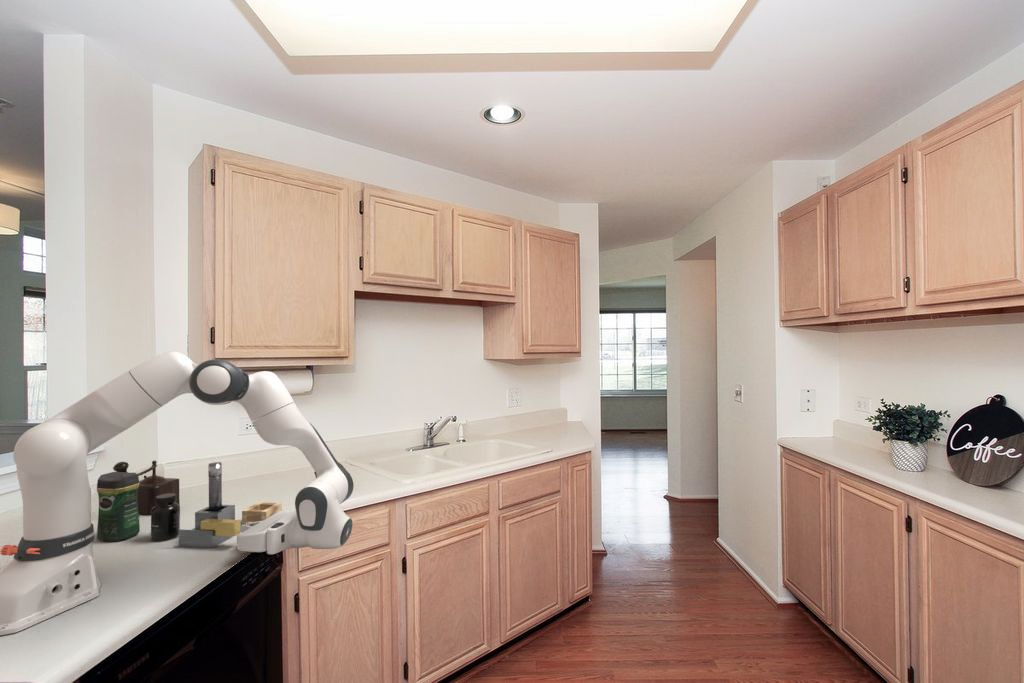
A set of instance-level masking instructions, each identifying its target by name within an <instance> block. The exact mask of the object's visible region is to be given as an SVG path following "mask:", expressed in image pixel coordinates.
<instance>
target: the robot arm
mask: <svg viewBox="0 0 1024 683" xmlns="http://www.w3.org/2000/svg"><path fill="white" fill-rule="evenodd" d="M185 394H192V395H193V396H194V397H196V398H197V399H198V400H199V401H201V402H202V403H204V404H207V405H210V406H221V405H226V404H230V403H232V402H234V403H237V404H239V405H241V407H243V409H244V410H245V412H246V413H247V415H248V418H249V420H250V421H251V423H252V426H253V427H254V429H255V431H256V433H257V434H258V436H259V437H260V438H261V440H262V441H264V442H266V443H267V444H271V445H274V446H291V447H294V448H296V449H298V450H300V452H301V453H302V454H303V455H304V456H305V458H306V460H307V461H308V463H309V465H311V468H313V470H314V472H316V475H317V478H316V477H315V479H314V480H312V481H310V482H309V483H307V485H306V486H304V487H303V488H302V489H300V490H299V492H298V493H297V495H296V496H295V500H294V508H295V510H293V509H292V510H291V509H282V510H281V511H279V512H277V513H276V514H274V515H272V516H270V517H269V518H267V519H265V520H263V521H258V522H249V523H247V524H242V526H241V532H240V534H238V535H236V549H238V550H239V551H243V552H251V553H263V552H266V554H267V555H274V554H275V555H276V554H278V553H281V552H283V551H286V550H290V549H291V550H292V549H293V548H295V549H302V548H306V547H307V548H311V549H314V550H333V549H337V548H338V549H339V548H341V547H342V546H344V545H345V544H346V542H347V541H348V539H350V536H351V534H352V530H353V520H352V519H353V518H352V517H350V516H348V514H346V513H345V512H344V510H343V509H342V507H341V504H342V503H344V502H346V501H347V500H348V499H349V498H350V497H351V496H352V494H353V491H354V481H353V477H352V476H351V474H350V472H349V471H348V470H347V469H346V468H345V467H344V466H343V465H342V464H341V463H340V462H339V461H338V460H337V459H336V457H335V455H333V453H332V451H331V450H330V449H329V446H328V445H327V444H326V442H325V441H324V439H323V437H322V436H321V435H320V433H319V431H318V430H317V428H316V427H315V426H314V425H313V424H312V423H311V422H309V421H308V420H307V419H306V418H305V417H304V415H303V414H302V412H301V411H300V410H299V408H298V406H297V405H296V403H295V401H294V399H293V397H292V394H290V392H289V390H288V389H287V387H286V386H285V385H284V383H283V382H282V380H281V379H280V377H278V375H277V374H276V373H275V372H272V371H269V370H268V371H267V370H263V371H258V372H255V373H251V374H248V373H247V372H245V370H242V369H241V368H239V367H238V366H237V365H235V364H233V363H232V362H230V361H228V360H224V359H219V358H218V359H217V358H213V359H208V360H205V361H203V362H201V363H199V364H198V363H197V364H196V363H195V362H194V361H193V360H191V358H190V357H188V356H187V355H185V354H184V353H182V352H179V351H175V350H173V351H172V350H170V351H166V352H163V353H161V354H159V355H156V356H153V357H151V358H149V359H148V360H147V359H146V361H143V362H142V363H140V364H138V365H136V366H134V367H132V368H130V369H129V370H127V371H125V372H124V373H121V374H120V375H118V376H117V377H115V378H113V379H112V380H110V381H109V382H106V383H105V384H104V385H102V386H100V387H99V388H96V389H95V390H94V391H92V392H90V393H89V394H87V395H86V396H84V397H83V398H81V399H79V400H78V401H76V402H75V403H73V404H71V405H70V406H68V407H66V408H65V409H63V410H61V411H60V412H58V413H57V414H55V415H54V416H52V417H50V418H48V419H46V420H45V421H43V422H40V423H39V424H37V425H35V426H32V427H31V428H29V429H28V430H26V431H25V432H24V433H22V434H21V436H19V438H18V440H17V441H16V444H15V446H14V449H13V455H12V456H13V457H12V458H13V461H14V463H15V465H16V474H17V478H18V479H17V480H18V485H19V489H20V493H21V498H22V510H23V511H22V527H23V528H22V530H23V531H22V532H23V534H22V535H23V536H21V538H20V540H19V542H18V545H14V544H13V545H11V544H5V545H3V546H2V547H1V548H0V555H1V556H9V557H10V556H13V559H12V560H11V561H10V562H9V563H8V564H7V565H6V566H5V567H4V568H3V569H2V570H1V571H0V636H4V635H10V634H15V633H18V632H20V631H23V630H25V629H27V628H30V627H32V626H34V625H36V624H39V623H41V622H43V621H45V620H47V619H50V618H52V617H55V616H57V615H60V614H61V613H64V612H66V611H68V610H70V609H72V608H75V607H77V606H79V605H82V604H84V603H86V602H88V601H91V600H93V599H95V598H97V597H99V596H100V588H101V585H102V582H101V580H100V577H99V575H98V571H97V567H96V564H95V562H96V561H95V557H94V552H93V542H94V540H95V530H94V528H95V527H94V523H92V489H91V486H90V481H89V472H88V464H87V455H88V454H90V453H91V452H93V451H94V450H95V449H97V448H99V447H100V446H103V445H104V444H105V443H107V442H109V441H110V440H112V439H113V438H114V437H115V438H116V436H118V435H120V434H121V433H123V432H125V431H126V430H128V429H130V428H132V427H133V426H135V425H136V424H138V423H140V421H143V420H144V419H145V418H147V417H148V416H150V415H151V414H153V413H154V412H156V411H158V410H159V409H161V408H162V407H164V406H165V405H167V404H168V403H170V402H171V401H172V400H174V399H176V398H179V396H182V395H185ZM338 462H339V463H340V464H341V465H342V466H343V467H344V468H345V469H346V470H345V469H344V468H343V467H342V466H341V465H340V464H339V463H338Z"/></svg>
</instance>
